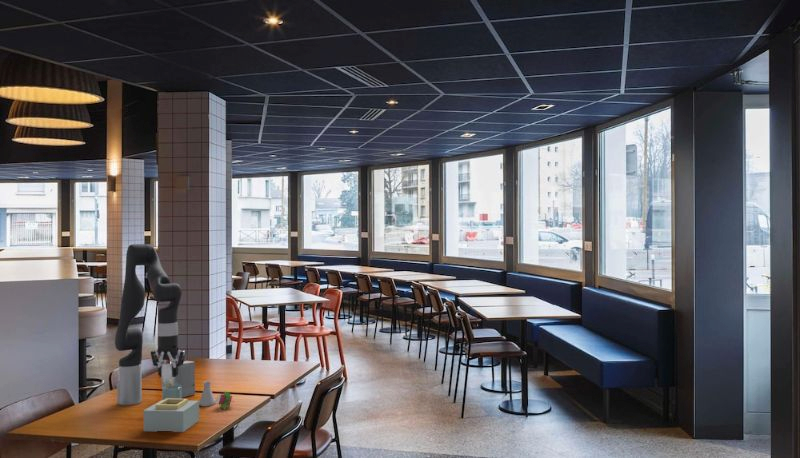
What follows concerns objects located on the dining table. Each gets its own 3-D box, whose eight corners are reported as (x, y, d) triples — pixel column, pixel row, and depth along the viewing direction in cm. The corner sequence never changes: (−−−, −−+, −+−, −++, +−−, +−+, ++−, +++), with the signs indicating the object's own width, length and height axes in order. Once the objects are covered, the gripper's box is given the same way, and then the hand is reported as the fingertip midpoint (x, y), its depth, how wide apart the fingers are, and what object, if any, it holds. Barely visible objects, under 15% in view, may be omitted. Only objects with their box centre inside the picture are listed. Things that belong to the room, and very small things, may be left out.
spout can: (159, 386, 228) (158, 360, 228) (165, 383, 233) (165, 357, 233) (171, 387, 227) (170, 360, 227) (177, 383, 232) (177, 357, 232)
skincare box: (180, 398, 268) (180, 364, 268) (171, 396, 272) (171, 362, 273) (196, 394, 275) (196, 361, 275) (187, 392, 279) (187, 359, 279)
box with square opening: (143, 431, 224) (143, 406, 224) (161, 419, 238) (161, 396, 238) (183, 432, 223) (183, 407, 223) (199, 420, 237) (199, 397, 237)
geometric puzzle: (229, 398, 261) (220, 386, 257) (240, 400, 257) (231, 388, 253) (219, 411, 256) (210, 399, 252) (230, 413, 252) (221, 401, 248)
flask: (210, 407, 255) (210, 384, 255) (195, 406, 256) (195, 383, 257) (218, 402, 262) (218, 380, 262) (204, 401, 264) (204, 379, 264)
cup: (163, 413, 246) (163, 390, 246) (161, 408, 253) (161, 385, 253) (182, 410, 250) (182, 387, 250) (180, 406, 257) (180, 383, 257)
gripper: (145, 335, 227) (146, 378, 227) (180, 335, 226) (181, 379, 226) (155, 332, 235) (156, 374, 234) (189, 332, 233) (189, 374, 233)
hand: (168, 376), depth 230 cm, fingers closed on spout can, 5 cm apart
